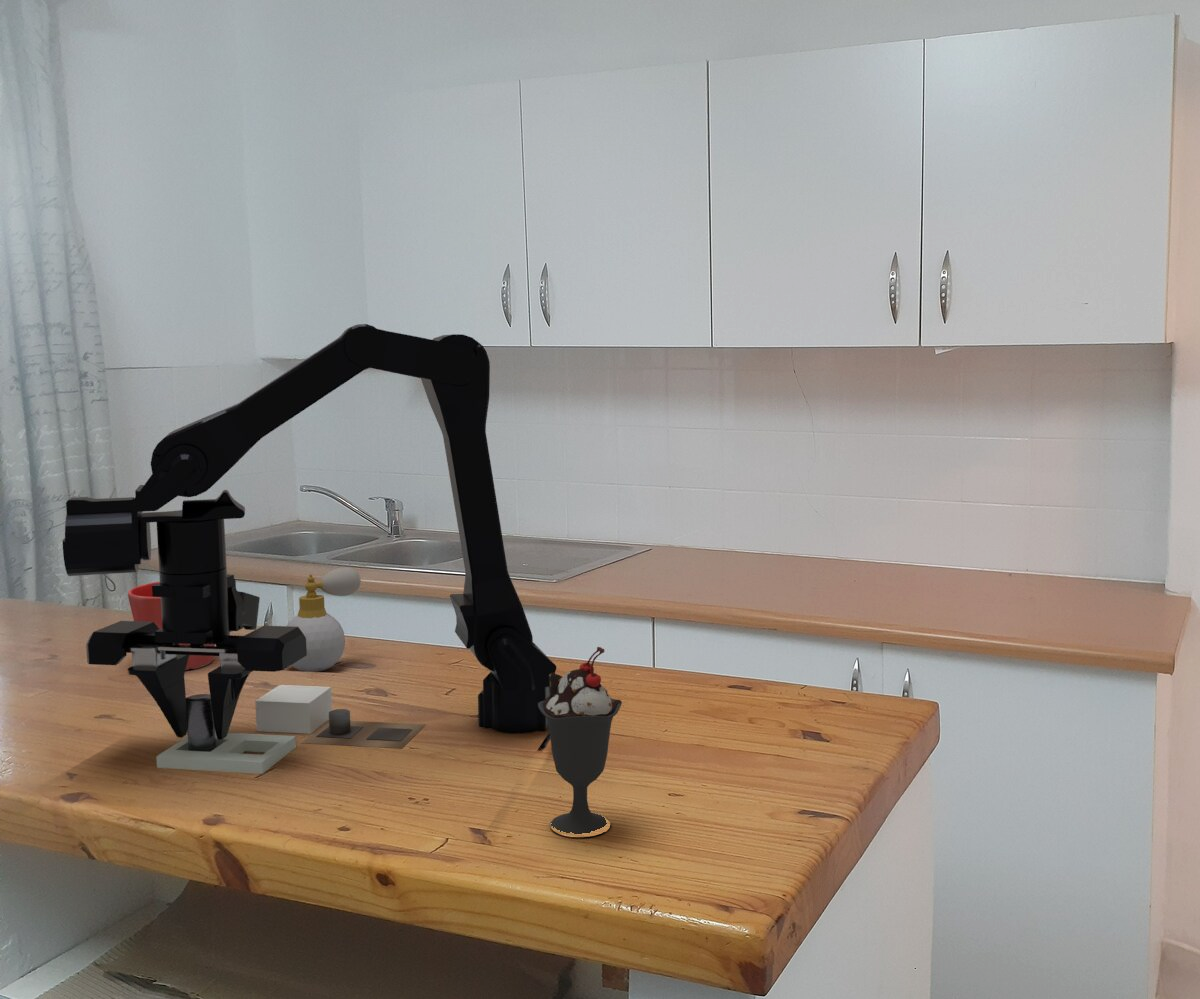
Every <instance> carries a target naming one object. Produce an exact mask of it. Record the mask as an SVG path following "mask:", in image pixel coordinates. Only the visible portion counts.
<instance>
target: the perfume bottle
mask: <svg viewBox="0 0 1200 999" xmlns="http://www.w3.org/2000/svg"><path fill="white" fill-rule="evenodd" d="M315 579H316V578H315V577H314V576H313V574H309V576H308V577H307V579H306V581H307V582H306V583H305V584H304V588H305V590H306V591H307V592H306V595H301V596H299V598H298V604H299V609H298V613H297V615H295V616H294V617H293V618H291V620H289V621H288V623H287V624H286V626H291V627H299V628H300V630H301V631H302V633H303V634H304V636H305V637H306V648H307V655H306V656H305V657H303V658H302V659H300V660H298V661H297V662H295V663H294V664H292V665H291V666H292V667H293V668H294V669H296V670H298V671H300V672H305V673H306V672H307V673H310V672H311V673H315V672H316V673H317V672H323V671H326V670H328V669H331V668H332V667H333V666H335V665H336V664H337V663H338V662H339V660H340V659H341V657H342V656H343V653H344V650H345V648H346V647H345V645H346V637H345V632H344V629H343V627H342V625H341V624H340V622H339V620H337V619H336V618H335V617H334V616H333V615H331V614H330V613H327V611H326V610H327V609H326V608H325V596H324V595H321V594H318V593H317V592H316V590H317V589H320V590H321V591H323V592H324V593H326V594H327V595H332V596H336V597H346V596H350V595H353V594H355V593H356V592H358V590H359V589H360V586H361V576H360V573H358V571H357V570H356V569H354V568H352V567H347V566H345V567H344V566H342V567H338V568H335V569H333V570H330V571H329V572H327V573H326V574H324V575H323V576H322V577H321V579H320V580H319V582H316V581H315Z"/></svg>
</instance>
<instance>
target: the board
mask: <svg viewBox="0 0 1200 999" xmlns="http://www.w3.org/2000/svg"><path fill="white" fill-rule="evenodd" d="M425 726H427V725H426V724H423V723H405V722H382V721H363V720H362V721H361V720H351V710H349V709H346V708H344V709H343V708H338V709H332V711H330V712H329V719H328V720H327V721H326V722H324V723H323V724H322V725H321V726H319V727H318V728H317V729H316V730H314V731H313V732H312V733H311V734H309V735H308V736H307V737H306V738H305V739H304V740H302V741H301V742H300V744H304V745H306V744H307V745H322V746H323V745H325V746H342V747H344V746H345V747H346V746H347V747H358V748H359V747H360V748H361V747H362V748H363V747H364V748H382V749H401V750H402V749H404V747H406V746H407V745H408V744H409V743H410V742H411V740H413V739H414V737H416V736H417V735H418V734H419V733H420V732H421V730H422V729H423V728H424V727H425Z"/></svg>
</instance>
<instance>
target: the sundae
mask: <svg viewBox="0 0 1200 999" xmlns="http://www.w3.org/2000/svg"><path fill="white" fill-rule="evenodd" d="M598 652H599V653H598ZM603 653H605V648H602V647H601V646H597V647H596V651H595V652H593V653H592V654H591V656H590V657H589V659H588V661H586V662H583V663H581V664H580V665H579V669H574V670H570V671H568V672H566V673H565V675H563V676H562V675H560V674H557V673H555V674H554V673H551V674H550V675H549V695H550V696H549V697H547V698H546V700H545V701H541V702H539V703H538V708H539V710H540V711H541V712H542V713H543V715H544V716H546V717H547V721H548V731H549V732H548V733H550V740H549V741H550V747H551V752H552V753H551V755H552V759H553V763H554V767H555V770H556V772H557V773H558V774H559V776H560V777H561V778H562V779H563V780H564V781H565V782H567V783H568V784H569V785H571V787H572V792H573V793H572V794H573V798H572V799H573V800H572V806H571V810H570V811H569V812H568V813H563V814H560V815H558V816H555V817H554V818H553V819H552V820H551V822H550V823H552V824H551V826H553V828H554V827H555V828H556V829H557V830H560V832H561V831H563V832H566V833H570V832H572V833H574V834H582V833H590V832H591V831H595V830H597V829H600V828H602V827H604V826H605V825H606V824H607V823H606V820H605V818H604V817H602V816H601V814H600V815H598V814H599V813H596V812H592V811H591V810H590V806H589V802H588V787H589V786H590V785H591V784H592V783H593V782H595V781H596V780H597V779H598V778H599V777H600V776H601V774H602V773H603V772H604V771H605V766H606V763H607V758H608V752H609V743H610V736H611V735H610V734H611V728H612V722H613V718H614V717H615V716H616V715H617V714H618V712H619V711H620V709H621V708H622V703H623V702H622V700H621V699H617V698H612V697H611V696H610V694H609V692H608V691H607V689H606V688H605V687H604V686H603V685H602V684H601V681H602V677H601V675H599V674H597V673H595V672H594V670H595V668H594V663H595V661H596V659H597V658H598V657H599V656H600V655H601V654H603ZM596 654H597V655H596ZM592 658H593V659H592ZM591 660H592V661H591ZM595 813H596V814H595Z"/></svg>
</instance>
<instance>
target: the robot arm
mask: <svg viewBox="0 0 1200 999" xmlns="http://www.w3.org/2000/svg"><path fill="white" fill-rule="evenodd" d="M490 364H491V363H490V359H489V355H488V353H487V350H486V349H485V347H484V345H483V344H481V343H480V342H479V341H477V340H476V339H475V338H474V337H472V336H468V335H466V334H462V333H461V334H458V333H457V334H454V333H452V334H443V335H440V336H437V337H433V338H432V339H430V338H426V337H420V336H415V335H410V334H405V333H399V332H394V331H388V330H384V329H379V328H376V327H375V326H374V325H371V324H367V323H362V324H361V323H360V324H355V325H352V326H350V327H348V328H346V329H345V330H344V331H343V332H342V334H341V335H340V336H339V337H338V338H336V339H334V340H333V341H331V342H329V343H328V344H327V345H325V346H324V347H322V348H321V349H319V350H317V351H316V352H314V353H313V354H312V355H310V356H308V357H307V358H306V359H303V360H302V361H301V362H299V363H297V364H296V365H294V366H293V367H292V368H290V369H288V370H286V372H284V373H283V374H281V375H280V376H278V377H276V378H274V379H273V380H271V381H270V382H269V383H267V384H265V385H263V387H261V388H260V389H258V390H256V391H255V392H253V393H252V394H250V395H249V396H247V397H245V398H244V399H242V400H241V401H240V402H238V403H235V404H234V405H230V406H229V407H226V408H224V409H222V410H219V411H216V412H214V413H212V414H209V415H207V416H205V417H202V418H200V419H197V420H196V421H193V422H190V423H187V424H186V425H183V426H181V427H179V428H177V429H174V430H172V431H171V432H169V433H168V434H166V435H165V437H164V438H162V439H161V440H160V441H159V442H158V443H157V444H156V446H155V447H154V449H153V451H152V453H151V459H150V468H151V475H150V476H149V478H148V479H147V481H146V482H145V483H144V484H140V485H139V486H138V487H137V488H136V489H135V491H134V493H135V497H111V498H110V497H108V498H107V497H105V498H93V497H88V496H87V497H86V496H78V497H76V496H75V497H74V496H73V497H70V498H69V499H68V500H67V501H66V502H65V508H66V509H65V510H66V516H65V522H64V523H65V524H64V538H63V539H62V555H63V556H62V557H63V562H64V569H65V571H66V574H67V577H77V576H79V577H80V576H92V575H93V576H94V575H97V576H98V575H112V574H114V575H115V574H127V573H128V574H129V573H130V574H131V573H132V574H133V573H139V572H138V571H139V567H140V565H141V564H142V560H143V561H150V560H151V558H152V537H151V535H152V534H151V523H156V537H157V551H158V552H157V554H158V557H157V558H158V570H159V572H158V573H159V582H160V583H158V584H155V585H152V597H161V611H162V628H161V629H159V628H158V627H157V625H156V624H155V623H154V622H141V621H134V620H119V621H118V622H115V623H111V624H109V625H106V626H104V627H102V628H100V629H98V630H95V631H92V632H91V635H90V636H89V638H88V640H87V642H86V644H85V646H86V647H85V648H86V662H87V664H88V665H98V666H100V665H101V666H117V665H119V664H120V663H121V662H122V661H123V660H124V659H125V658H126V657H127V654H129V653H131V657H132V659H131V661H132V662H131V663H132V666H130V667H127V673H128V675H129V676H135V677H137V678H138V679H139V681H140V682H141V684H142V685H143V686H144V688H145V689H146V691H147V692H148V693H149V694H150V695H151V697H152V698H153V700H154V701H155V703H156V704H157V706H158V708H159V709H160V711H161V713H162V715H163V716H164V718H165V719H166V721H167V723H168V724H169V726H170V727H171V729H172V731H173V732H174V734H175V736H176V737H177V738H181V739H182V738H185V736H187V717H186V698H187V696H186V695H187V693H186V685H185V684H186V682H185V680H186V679H185V673H186V670H185V669H186V666H187V662H188V658H189V655H202V656H213V657H219V666H218V667H216V668H215V669H213V670H211V671H209V672H208V673H207V678H208V679H207V681H208V687H209V694H210V697H211V705H212V714H213V722H214V728H215V732H216V735H217V739H218V740H222V739H224V738H225V737H226V736H227V734H228V733H229V730H230V727H231V723H232V720H233V716H234V714H235V712H236V708H237V704H238V701H239V698H240V695H241V692H242V690H243V688H244V685H245V684H246V681H247V679H248V678H249V676H250V675H251V673H252V672H273V673H274V672H280V671H284V670H285V669H288V668H289V667H290V666H292V664H294V663H295V662H297V661H298V660H300V659H302V658H303V657H305V656H306V655H307V648H306V637H305V636H304V634H303V633H302V631H301V630H300V628H299V627H291V626H287V625H285V626H284V625H261V626H260V627H259V628H257V626H258V625H257V624H258V616H259V608H260V607H259V606H260V599H261V598H260V596H257V595H254V594H250V593H248V592H245V591H238V590H237V587H236V586H237V585H236V584H237V583H236V579H235V575H234V574H228V570H227V568H228V567H227V551H226V550H227V549H226V533H225V532H226V530H225V529H226V528H225V527H226V526H225V520H231V519H242V518H244V517H245V516H246V515H245V514H246V507H245V506H244V505H242V504H241V503H239V502H238V501H237V500H235V498H234V497H233V496H232V495H231V493H230V492H229V490H228V489H224V490H222V491H221V493H220V495H218V497H217V498H215V499H213V498H212V499H190V500H189V499H187V500H183V501H182V504H181V508H182V509H180V510H171V511H169V510H168V511H158V510H159V509H161V508H162V507H164V506H165V505H167V504H168V503H170V502H171V501H173V500H175V499H176V498H177V497H184V498H193V497H197V496H199V495H202V494H203V493H205V492H208V491H209V489H211V488H213V486H214V485H215V484H216V483H217V482H218V481H219V480H221V478H222V477H223V476H224V475H225V474H226V473H227V472H229V471H230V470H231V469H232V468H233V467H234V466H235V465H236V464H237V463H238V462H239V461H240V460H241V459H242V458H243V457H244V456H245V455H246V454H247V453H248V452H249V451H250V450H251V449H252V448H253V447H254V446H255V445H256V444H257V443H258V442H259V441H260V440H262V438H264V437H266V436H267V435H268V434H270V433H271V432H273V431H274V430H276V429H277V428H279V427H280V426H282V425H284V424H285V423H287V422H288V421H290V420H291V419H292V418H294V417H295V416H297V415H299V414H300V413H302V412H303V411H304V410H306V409H308V408H309V407H311V406H312V405H314V404H316V403H317V402H318V401H320V400H321V399H323V398H324V397H325V396H327V395H328V394H330V393H332V392H334V391H335V390H336V389H337V388H339V387H342V385H344V384H345V383H347V382H348V381H349V380H352V379H353V378H354V377H356V376H357V375H359V374H361V373H362V372H363V371H366V370H368V369H374V370H379V371H383V372H389V373H393V374H398V375H403V376H407V377H408V376H409V377H413V378H417V379H418V378H419V379H420V381H421V383H422V385H423V388H424V392H425V394H426V397H427V399H428V403H429V406H430V407H431V410H432V412H433V414H434V417H435V419H436V422H437V424H438V426H439V428H440V431H441V434H442V438H443V444H444V450H445V451H444V452H445V455H446V456H445V457H446V461H447V468H448V473H449V475H448V476H449V480H450V487H451V492H452V499H453V506H454V511H455V517H456V522H457V530H458V534H459V536H458V537H459V541H460V542H459V543H460V546H461V547H460V548H461V554H462V559H463V560H462V561H463V565H464V572H465V573H464V574H465V576H464V577H465V578H464V585H463V593H451V594H449V598H450V602H451V605H452V607H453V609H454V613H455V616H456V618H455V619H456V620H455V621H456V625H455V629H454V633H455V634H456V636H457V637H458V639H459V640H460V641H461V643H462V644H463V645H464V646H465V648H466V649H467V650H470V652H471V653H472V654H473V656H474V657H475V658H476V660H477V661H478V663H480V665H481V666H483V667H484V668H485V669H487V670H489V671H490V672H489V673H488V674H487V675H486V676H485V677H484V678H483V680H482V689H481V691H480V692H479V693H478V695H477V714H478V715H477V716H478V719H477V720H478V727H479V728H483V729H488V730H489V729H491V730H493V731H495V732H497V733H500V734H501V733H502V734H511V735H512V734H514V735H516V734H518V735H521V734H530V733H534V732H546V731H547V730H549V727H548V721H547V717H546V716H544V715H543V713H542V712H541V711H540V710H539V708H538V703H539V702H541V701H545V700H546V698H547V697H549V696H550V695H549V675H550V674H551V673H554V674H556V671H557V665H556V664H555V662H553V661H552V660H551V659H550V657H549V656H547V655H546V653H544V651H543V650H541V648H540V647H539V646H538V645H536V643H535V642H534V640H533V634H532V633H533V632H532V630H531V628H530V624H529V621H528V619H527V616H526V613H525V610H524V608H523V605H522V602H521V600H520V598H519V594H518V592H517V590H516V588H515V585H514V584H513V581H512V578H511V576H510V574H509V569H508V565H507V558H506V552H505V546H504V545H505V544H504V540H503V539H504V538H503V534H502V533H503V532H502V526H501V520H500V514H499V507H498V502H497V495H496V489H495V483H494V476H493V470H492V464H491V463H492V462H491V457H490V452H489V445H488V444H489V442H488V439H487V434H486V433H487V429H486V428H487V426H486V425H487V420H488V412H489V411H488V410H489V405H490V404H489V402H490V386H491V385H490V384H491V382H490V379H491V378H490V377H491V376H490V374H491V373H490V372H491V369H490V368H491V365H490ZM243 628H244V630H248V631H250V632H249V633H246V634H245V635H236V634H235V635H231V632H238V631H241V630H242V629H243ZM251 630H252V631H251ZM179 643H181V644H190V645H179ZM204 644H209V645H211V644H213V645H215V646H204ZM549 741H551V740H550V733H549V732H548V733H547V735H546V736H545V738H544V740H543V741H541V742H542V743H541V744H540V746H539V747H538V750H543V749H545V748H546V747H547V745H548V743H549Z"/></svg>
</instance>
